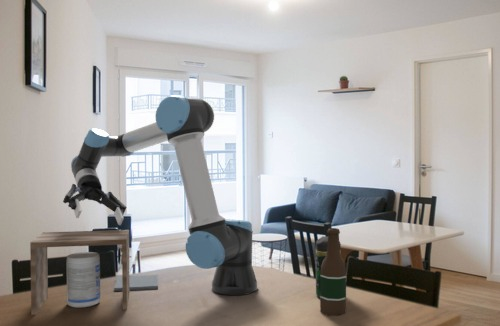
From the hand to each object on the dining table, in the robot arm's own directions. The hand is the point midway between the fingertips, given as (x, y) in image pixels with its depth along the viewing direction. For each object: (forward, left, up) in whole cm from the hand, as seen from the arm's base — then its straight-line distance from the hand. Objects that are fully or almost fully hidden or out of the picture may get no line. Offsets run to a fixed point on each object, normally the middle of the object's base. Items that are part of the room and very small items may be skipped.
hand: (100, 218), depth 151 cm
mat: (+7, -16, -25) cm, 30 cm away
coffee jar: (-44, -56, -25) cm, 76 cm away
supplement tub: (-1, +6, -25) cm, 26 cm away
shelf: (-1, +6, -25) cm, 26 cm away
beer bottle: (-55, -45, -25) cm, 75 cm away
